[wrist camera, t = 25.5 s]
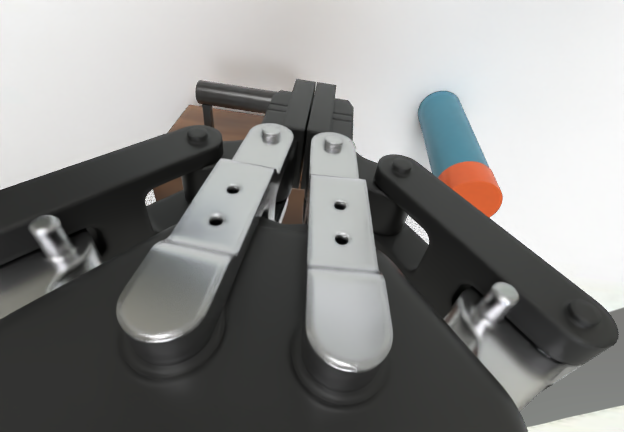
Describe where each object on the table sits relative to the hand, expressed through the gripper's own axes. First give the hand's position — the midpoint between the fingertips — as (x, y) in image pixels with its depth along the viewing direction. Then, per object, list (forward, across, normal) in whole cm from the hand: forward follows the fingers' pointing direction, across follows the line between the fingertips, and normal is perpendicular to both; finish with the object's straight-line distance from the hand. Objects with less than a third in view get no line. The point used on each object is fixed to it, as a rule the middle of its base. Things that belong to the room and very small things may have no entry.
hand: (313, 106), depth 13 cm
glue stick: (+16, -10, +7) cm, 20 cm away
